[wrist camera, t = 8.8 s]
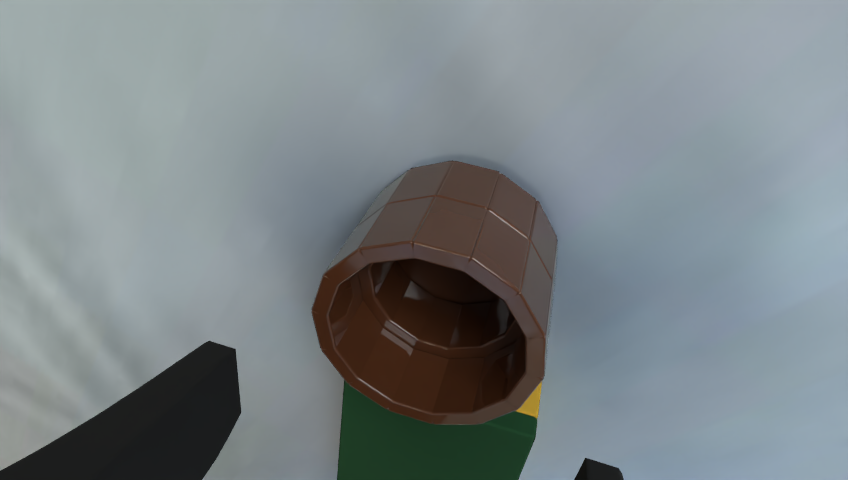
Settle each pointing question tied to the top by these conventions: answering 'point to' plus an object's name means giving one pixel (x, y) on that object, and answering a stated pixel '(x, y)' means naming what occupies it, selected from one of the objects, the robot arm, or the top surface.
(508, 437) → the sponge
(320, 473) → the top surface
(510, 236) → the brown hollow cylinder
